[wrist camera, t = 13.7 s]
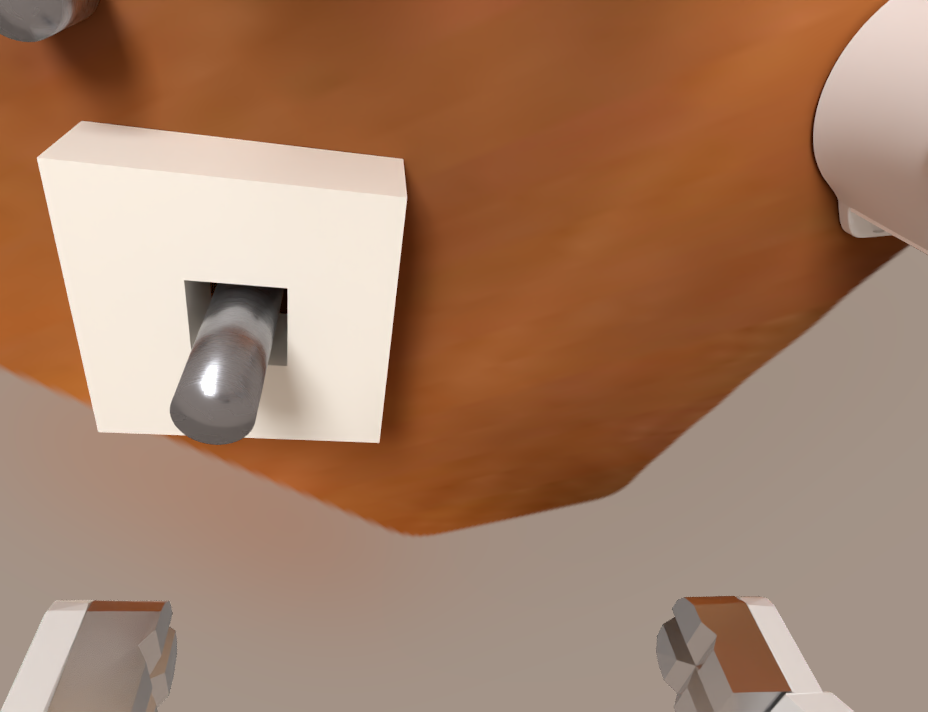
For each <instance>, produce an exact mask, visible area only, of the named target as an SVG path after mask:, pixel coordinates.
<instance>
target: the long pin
mask: <svg viewBox="0 0 928 712" xmlns="http://www.w3.org/2000/svg"><path fill="white" fill-rule="evenodd" d="M284 289H285V288H277V287H264V286H252V285H239V284H226V283H217V286H216V288H215V291H214V294H213V296H212V299H211V301H210V304H209V306H208V309H207V312H206V314H205V317H204V319H203V322H202V324H201V327H200V329H199V332H198V335H197V337H196V340H195V342H194V345H193V347H192V350H191V353H190V355H189V358H188V360H187V363H186V365H185V368H184V371H183V373H182V376H181V378H180V381H179V383H178V386H177V389H176V391H175V394H174V396H173V399H172V401H171V404H170V416H171V419H172V421H173V423H174V424H175V426H176V427H177V428H178V429H179V430H180V431H181V432H182V433H183V434H185V435H186V436H188V437H189V438H192V439H194V440H196V441H199V442H202V443H207V444H215V445H221V444H229V443H233V442H236V441H238V440H241V439H242V438H244V437H245V436H247V435H248V434H249V433H250V432H251V430H252V429H253V427H254V425H255V420H256V416H257V411H258V407H259V402H260V398H261V393H262V389H263V384H264V380H265V375H266V370H267V366H268V361H269V357H270V352H271V348H272V343H273V339H274V334H275V330H276V325H277V320H278V316H279V311H280V307H281V302H282V298H283V293H284Z"/></svg>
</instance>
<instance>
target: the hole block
mask: <svg viewBox="0 0 928 712" xmlns="http://www.w3.org/2000/svg"><path fill="white" fill-rule="evenodd" d="M37 161H38V165H39V170H40V174H41V178H42V183H43V187H44V192H45V196H46V201H47V205H48V210H49V214H50V219H51V223H52V228H53V232H54V237H55V241H56V245H57V250H58V254H59V259H60V263H61V268H62V272H63V277H64V281H65V286H66V290H67V295H68V299H69V304H70V308H71V312H72V317H73V321H74V326H75V330H76V335H77V339H78V344H79V348H80V353H81V357H82V362H83V366H84V370H85V375H86V379H87V384H88V388H89V393H90V397H91V402H92V406H93V411H94V415H95V419H96V424H97V428H98V432H113V433H138V434H164V435H185V434H183V433H182V432H181V431H180V430H179V429H178V428H177V427H176V426H175V424H174V423H173V421H172V419H171V416H170V404H171V401H172V399H173V396H174V394H175V391H176V389H177V386H178V383H179V381H180V378H181V376H182V373H183V371H184V368H185V365H186V363H187V360H188V358H189V355H190V353H191V350H192V347H193V345H194V342H195V340H196V337H197V335H198V332H199V329H200V327H201V324H202V322H203V319H204V317H205V314H206V312H207V309H208V306H209V304H210V301H211V286H210V282H214V283H226V284H239V285H252V286H264V287H277V288H288V314H283V313H279V316H278V320H277V325H276V330H275V334H274V339H273V343H272V348H271V352H270V357H269V361H268V366H267V370H266V375H265V380H264V384H263V389H262V393H261V398H260V402H259V407H258V411H257V416H256V420H255V425H254V427H253V429H252V430H251V432H250V433H249V434H248V435H247V436H245V437H244V438H268V439H294V440H320V441H346V442H372V443H379V441H380V433H381V424H382V415H383V406H384V397H385V389H386V380H387V371H388V362H389V353H390V345H391V336H392V327H393V318H394V309H395V301H396V292H397V283H398V274H399V265H400V257H401V248H402V239H403V230H404V221H405V213H406V204H407V191H406V181H405V171H404V162H403V159H399V158H390V157H382V156H373V155H365V154H357V153H348V152H340V151H331V150H323V149H314V148H306V147H298V146H289V145H281V144H272V143H264V142H256V141H247V140H239V139H230V138H222V137H213V136H205V135H197V134H188V133H180V132H171V131H163V130H155V129H146V128H138V127H129V126H121V125H113V124H104V123H96V122H87V121H81V122H80V123H79V124H77V125H76V126H75V127H74V128H72V129H71V130H70V131H69V132H68V133H66V134H65V135H64V136H63V137H61V138H60V139H59V140H58V141H57V142H55V143H54V144H53V145H52V146H50V147H49V148H48V149H47V150H46V151H44V152H43V153H42V154H41V155H39V156H38V157H37Z"/></svg>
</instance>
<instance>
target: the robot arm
mask: <svg viewBox="0 0 928 712" xmlns="http://www.w3.org/2000/svg"><path fill="white" fill-rule="evenodd" d="M813 144H814V153H815V158H816V162H817V165H818V167H819V170H820V172H821V174H822V176H823V177H824V179H825V180H826V182H827V183H828V184H829V186H830V187H831V188H832V190H833V191H834V193H835V194H836V196H837V198H838V205H839V217H840V223H841V226H842V228H843V230H844V231H845V232H847V233H849V234H851V235H853V236H855V237H858V238H866V237H878V236H889V235H893V236H895V237H897V238H898V239H900V240H902V241H904V242H906V243H907V244H909V245H911V246H913V247H914V248H916V249H918V250H920V251H922V252H924V253H925V254H927V255H928V0H890V1H888V2H887V3H886V4H885V5H884V6H883V7H881V8H880V9H879V10H878V11H877V12H876V13H875V14H874V15H873V16H872V17H871V18H870V19H869V20H868V21H867V22H866V23H865V24H864V25H863V26H862V28H861V29H860V30H859V31H858V32H857V33H856V35H855V36H854V37H853V38H852V40H851V41H850V42H849V44H848V45H847V47H846V48H845V49H844V51H843V52H842V54H841V56H840V57H839V59H838V60H837V62H836V64H835V66H834V67H833V69H832V71H831V73H830V75H829V77H828V79H827V81H826V84H825V86H824V88H823V91H822V94H821V97H820V100H819V103H818V107H817V111H816V115H815V121H814V130H813ZM672 610H673V613H674V615H675V617H674V618H672V619H671V620H669V621H667V622H666V623H664V624H663V625H662V627H661V629H660V631H659V633H658V635H657V647H656V653H657V659H658V664H659V668H660V670H661V673H662V676H663V679H664V681H665V682H666V683H667V684H668V685H669V686H670V687H671V688H672V689H673V690H674V691H675V692H676V693H677V697H676V701H675V705H674V709H675V712H854V711H853V710H852V709H851V708H849V707H848V706H847V705H846V704H845V703H843V702H842V701H841V700H840V699H839V698H838V697H836V696H835V695H834V694H833V693H832V692H824V691H822V690H821V688H820V686H819V684H818V682H817V681H816V679H815V677H814V675H813V674H812V672H811V670H810V668H809V666H808V665H807V663H806V661H805V659H804V658H803V656H802V654H801V652H800V650H799V649H798V647H797V645H796V643H795V641H794V640H793V638H792V636H791V634H790V633H789V631H788V629H787V627H786V626H785V624H784V622H783V620H782V618H781V617H780V615H779V613H778V611H777V610H776V608H775V606H774V605H773V603H772V602H770V601H769V600H768V599H767V598H765V597H760V596H747V597H735V596H718V597H717V596H716V597H684V598H681V599H679V600H677V602H676V604H675V605H674V606H673V608H672ZM172 614H173V613H172V609H171V604H170V601H96V600H63V601H61V600H60V601H54V603H53V604H52V605H51V606H50V608H49V609H48V610H47V611H46V613H45V615H44V617H43V619H42V621H41V623H40V625H39V628H38V630H37V632H36V634H35V637H34V639H33V641H32V643H31V645H30V648H29V650H28V652H27V654H26V657H25V659H24V661H23V663H22V665H21V667H20V670H19V672H18V674H17V676H16V679H15V681H14V683H13V685H12V687H11V689H10V692H9V694H8V696H7V698H6V701H5V703H4V705H3V707H2V709H1V711H0V712H158V711H157V707H158V706H159V705H160V704H161V703H162V702H163V701H164V700H165V699H166V698H167V697H168V696H169V693H170V689H171V685H172V681H173V677H174V671H175V664H176V657H177V637H176V631H175V630H174V629H172V628H171V627H169V625H170V621H171V618H172Z"/></svg>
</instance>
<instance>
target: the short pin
mask: <svg viewBox="0 0 928 712" xmlns="http://www.w3.org/2000/svg"><path fill="white" fill-rule="evenodd" d="M99 2H100V0H0V34H2V35H3V36H6V37H8V38H11V39H14V40H17V41H23V42H35V41H40V40H43V39H45V38H47V37H49V36H52V35H54V34H56V33H58V32H60V31H62V30H64V29H66V28H68V27H70V26H72V25H75V24H77V23H79V22H81V21H83V20H85V19H87V18H88V17H90V16H91V15H92V14H93V13H94V12H95V10H96V9H97V7H98V4H99Z"/></svg>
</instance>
